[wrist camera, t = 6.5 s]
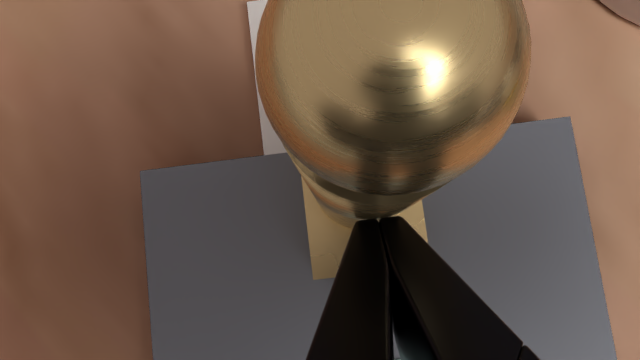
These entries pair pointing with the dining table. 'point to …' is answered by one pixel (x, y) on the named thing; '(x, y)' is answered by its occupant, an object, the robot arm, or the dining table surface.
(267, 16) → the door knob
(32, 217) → the dining table surface
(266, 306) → the lock plate
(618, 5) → the mug
